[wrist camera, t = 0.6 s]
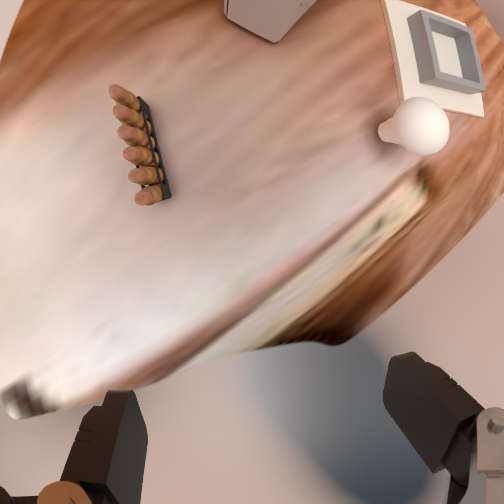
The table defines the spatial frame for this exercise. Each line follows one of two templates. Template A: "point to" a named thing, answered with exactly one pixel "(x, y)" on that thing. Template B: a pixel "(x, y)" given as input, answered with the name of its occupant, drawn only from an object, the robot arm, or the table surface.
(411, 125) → the lightbulb
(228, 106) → the table surface
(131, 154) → the ammunition clip
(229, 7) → the stereo radio cassette player
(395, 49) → the socket base
